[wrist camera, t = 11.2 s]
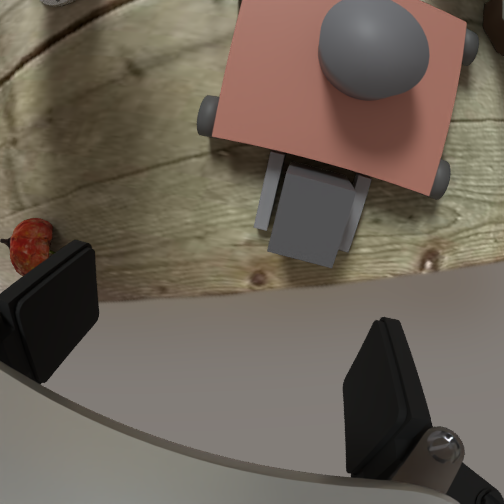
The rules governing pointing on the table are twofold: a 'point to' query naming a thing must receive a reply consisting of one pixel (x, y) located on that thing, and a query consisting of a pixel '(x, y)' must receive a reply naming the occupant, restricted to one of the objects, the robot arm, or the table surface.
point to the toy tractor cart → (343, 91)
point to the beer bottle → (495, 23)
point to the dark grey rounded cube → (311, 214)
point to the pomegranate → (29, 244)
